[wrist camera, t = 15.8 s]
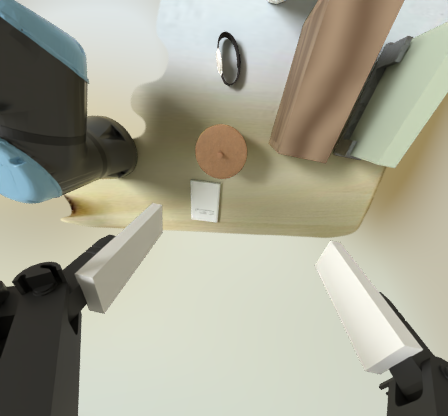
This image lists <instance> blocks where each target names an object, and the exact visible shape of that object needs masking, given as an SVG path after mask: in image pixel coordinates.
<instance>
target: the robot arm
mask: <svg viewBox="0 0 448 416" xmlns="http://www.w3.org/2000/svg"><path fill="white" fill-rule="evenodd" d="M87 83H88V84H89V80H88V79H87V64H86V55H85V52H84V50H83V48H82V47H81V45H80V44H79V43H78V42H77V41H76V40H75V39H74V38H73V37H71V36H70V35H69V34H67V33H66V32H64V31H63V30H61V29H59V28H58V27H56V26H55V25H53V24H52V23H50V22H49V21H47V20H45V19H44V18H42V17H41V16H39V15H37V14H36V13H34V12H33V11H31V10H29V9H28V8H26V7H24V6H23V5H21V4H20V3H18V2H16V1H15V0H0V194H1V195H3V196H5V197H7V198H10V199H12V200H15V201H18V202H23V203H40V202H43V201H46V200H49V199H52V198H57V197H60V196H62V195H64V194H66V193H68V192H71V191H73V190H75V189H77V188H80V187H82V186H84V185H86V184H89V183H91V182H93V181H96V180H98V179H117V178H121V177H124V176H126V175H128V174H129V173H131V172H132V171H133V170H134V168H135V166H136V163H137V150H136V146H135V144H134V141H133V139H132V138H131V136H130V135H129V133H128V132H127V131H126V129H125V128H124V127H123V126H121V125H120V124H119V123H118V122H116V121H114V120H113V119H110V118H108V117H104V116H88V117H87ZM161 234H162V205H160V204H156V203H152V204H151V205H150V206H148V207H147V208H146V209H145V210H144V211H143V212H142V213H141V214H140V215H139V216H137V217H136V218H135V219H134V220H133V221H132V222H131V223H130V224H129V225H128V226H127V227H125V228H124V229H123V230H122V231H121V232H120V233H119V234H118V235H117V236H113V235H108V236H106V237H104V238H101V239H100V240H98V241H97V242H96V243H95V244H94V245H92V247H90V248H89V249H88V250H86V252H84V253H83V254H82V255H80V256H79V257H78V258H77V259H76V260H74V261H73V262H72V263H71V264H70V265H68V266H67V267H66V268H65V269H64V270H62V268H61V266H60V265H59V264H58V263H55V262H44V263H40V264H37V265H34V266H31V267H29V268H27V269H25V270H23V271H22V272H21V273H19V274H18V275H17V276H16V277H15V278H14V280H13V281H12V283H13V284H14V285H15V286H11V287H6V286H5V285H4V283H3V282H2V281H0V416H78V397H79V369H80V343H81V316H82V314H81V310H82V308H84V306H85V305H86V304H87V306H88V308H89V310H90V311H95V312H99V313H105V312H106V311H107V309H108V307H109V306H110V305H111V303H112V302H113V301H114V299H115V298H116V297H117V295H118V294H119V293H120V291H121V290H122V288H123V287H124V286H125V284H126V283H127V281H128V280H129V279H130V277H131V276H132V274H133V273H134V271H135V270H136V269H137V268H138V266H139V265H140V263H141V262H142V261H143V259H144V258H145V256H146V255H147V253H148V252H149V251H150V249H151V248H152V247H153V245H154V244H155V243H156V241H157V240H158V238H159V237H160V236H161ZM315 267H316V270H317V272H318V274H319V276H320V278H321V280H322V282H323V284H324V286H325V288H326V291H327V293H328V295H329V297H330V299H331V301H332V303H333V305H334V307H335V309H336V311H337V314H338V316H339V318H340V320H341V322H342V324H343V326H344V328H345V330H346V333H347V334H348V337H349V339H350V341H351V343H352V345H353V347H354V349H355V352H356V354H357V356H358V358H359V360H360V362H361V364H362V366H363V368H364V370H365V371H367V372H372V373H377V374H382V373H383V372H385V371H387V370H390V372H391V374H392V375H393V378H391V379H389V380H387V381H385V382H383V383H381V384H380V386H379V388H380V389H381V390H382V389H384V388H386V387H389V391H388V392H386V394H387V395H388V407H387V416H448V362H447V361H445V360H443V359H442V358H439V357H435V356H434V355H433V354H432V352H431V351H430V350H429V349H428V347H427V346H426V345H425V344H424V342H423V341H422V340H421V339H420V337H419V336H418V335H417V334H416V332H415V331H414V330H413V329H412V327H411V326H410V325H409V324H408V322H407V321H405V319H404V317H403V316H402V315H401V314H400V313H399V312H398V310H397V309H396V307H395V306H394V305H393V304H392V303H391V301H390V300H389V299H388V298H387V297H385V296H384V295H383V294H382V293H381V292H378V290H377V289H376V288H375V287H374V285H373V284H372V283H371V281H370V280H369V279H368V277H367V276H366V275H365V274H364V272H363V271H362V270H361V269H360V267H359V266H358V265H357V263H356V262H355V261H354V259H353V258H352V257H351V255H350V254H349V253H348V252H347V250H346V249H345V248H344V247H343V245H342V244H341V243H340V242H336V241H331V240H330V242H329V243H328V245H327V247H326V248H325V250H324V251H323V253H322V255H321V256H320V258H319V259H318V261H317V262H316V264H315Z"/></svg>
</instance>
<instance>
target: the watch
mask: <svg viewBox="0 0 448 416" xmlns="http://www.w3.org/2000/svg"><path fill="white" fill-rule="evenodd" d="M224 37H226V38H228V39H229V40H230V41H231V42H232V43H233V45H234V47H235V50H236V56H237V68H238V73H237V78H236V80H235V82H236V81H237V79H238V77H239V73H240V63H241V61H240V54H239V50H238V46H237V43H236V41H235V39H234V37H233V36H232V35H231V34H230V33H228V32H223V33H221V34H220V36H219V39H218V46H217V52H216V61H217V68H218V72H219V73H220V74H221V77H222V80H223V82H224V83H225V84H226V85H228V86H230V85H233V84H234V83H235V82H234V83H232V84H228V83H227V82H226V81H225V79H224V77H223V73H222V58H221V54H220V51H219V41H220V40H221V39H222V38H224Z"/></svg>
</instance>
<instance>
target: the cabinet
mask: <svg viewBox="0 0 448 416" xmlns="http://www.w3.org/2000/svg"><path fill="white" fill-rule="evenodd" d="M403 2H404V0H318V2H317V3H316V5H315V6H314V8H313V10H312V11H311V13H310V14H309V16H308V18H307V19H306V21H305V22H304V24H303V27H302V31H301V34H300V37H299V41H298V44H297V48H296V51H295V55H294V58H293V61H292V65H291V68H290V72H289V75H288V79H287V82H286V85H285V89H284V92H283V96H282V99H281V103H280V106H279V109H278V113H277V116H276V120H275V123H274V127H273V130H272V133H271V137H270V140H269V144H270V145H271V146H272V147H273V148H274V149H275V150H276V151H277V153H278V154H283V155H288V156H293V157H298V158H303V159H307V160H312V161H317V162H322V163H326V162H327V160H328V158H329V156H330V154H331V152H332V150H333V148H334V146H335V143H336V141H337V139H338V137H339V135H340V133H341V131H342V129H343V127H344V125H345V123H346V121H347V119H348V116H349V114H350V112H351V110H352V108H353V106H354V104H355V102H356V100H357V98H358V96H359V94H360V91H361V89H362V87H363V85H364V83H365V81H366V79H367V77H368V75H369V73H370V71H371V69H372V67H373V64H374V62H375V60H376V58H377V56H378V54H379V52H380V50H381V48H382V46H383V44H384V42H385V40H386V37H387V35H388V33H389V31H390V29H391V27H392V25H393V23H394V21H395V19H396V17H397V15H398V12H399V10H400V8H401V6H402V4H403Z"/></svg>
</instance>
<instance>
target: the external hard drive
mask: <svg viewBox="0 0 448 416" xmlns="http://www.w3.org/2000/svg"><path fill="white" fill-rule="evenodd" d="M190 183H191V219H194V220H202V221H209V222H218V211H219V198H220V184H221V183H217V182H208V181H200V180H191V181H190Z"/></svg>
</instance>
